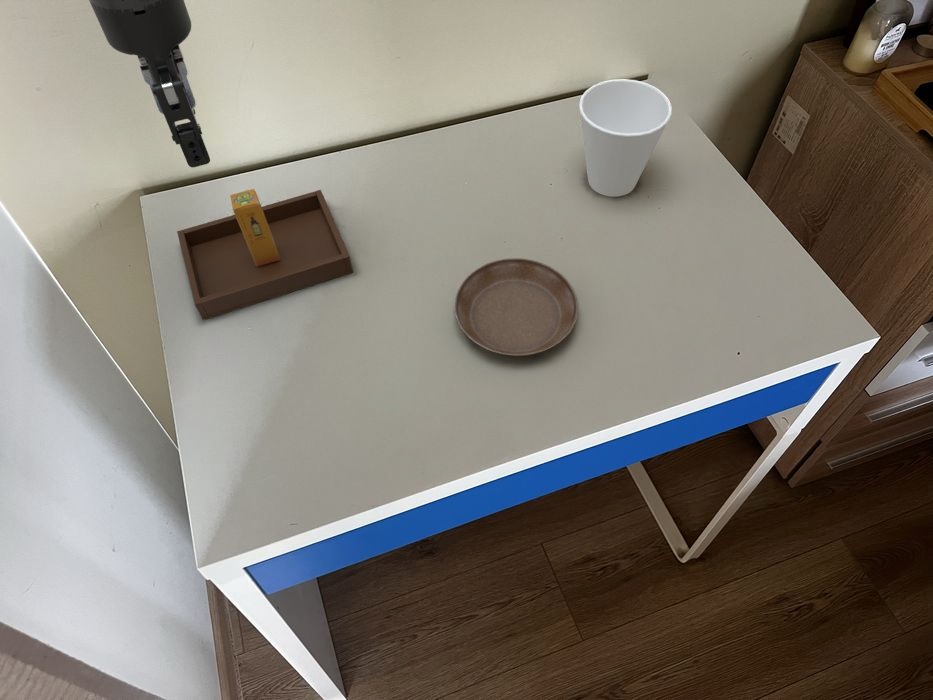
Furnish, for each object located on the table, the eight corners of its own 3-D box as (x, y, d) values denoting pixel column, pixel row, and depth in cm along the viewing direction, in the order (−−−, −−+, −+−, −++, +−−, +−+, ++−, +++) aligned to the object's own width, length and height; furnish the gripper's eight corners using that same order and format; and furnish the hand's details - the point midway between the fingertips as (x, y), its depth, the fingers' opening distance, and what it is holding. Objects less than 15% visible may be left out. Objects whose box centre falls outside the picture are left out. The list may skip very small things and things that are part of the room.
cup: (651, 154, 103) (669, 79, 93) (656, 211, 96) (675, 136, 86) (570, 151, 104) (579, 76, 94) (569, 207, 97) (578, 133, 87)
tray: (203, 320, 88) (194, 304, 85) (185, 247, 95) (176, 231, 92) (353, 272, 92) (349, 256, 89) (324, 206, 99) (320, 189, 96)
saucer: (532, 388, 80) (533, 375, 78) (431, 328, 86) (429, 314, 84) (598, 306, 87) (601, 292, 85) (501, 255, 93) (501, 241, 90)
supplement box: (276, 243, 94) (256, 186, 86) (281, 261, 92) (260, 204, 84) (251, 250, 94) (228, 193, 85) (255, 268, 92) (232, 211, 83)
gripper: (78, -44, 64) (147, 110, 77) (93, 34, 56) (166, 191, 69) (162, -60, 65) (215, 94, 78) (188, 13, 58) (242, 171, 71)
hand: (192, 139), depth 74 cm, fingers open, 8 cm apart
